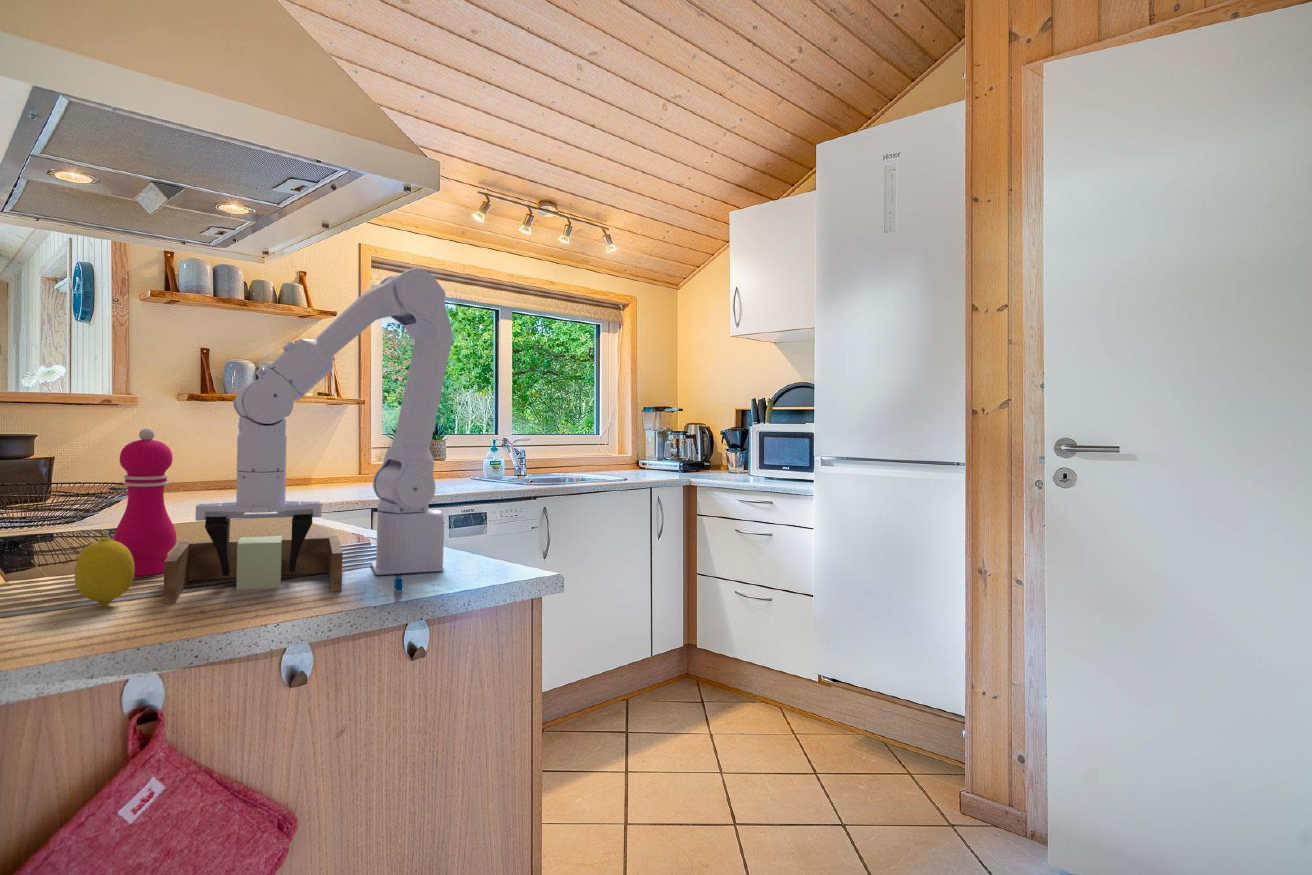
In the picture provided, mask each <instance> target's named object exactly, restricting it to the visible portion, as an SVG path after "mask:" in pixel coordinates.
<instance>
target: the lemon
mask: <svg viewBox="0 0 1312 875" xmlns="http://www.w3.org/2000/svg"><path fill="white" fill-rule="evenodd" d="M134 572H135V566H134V560H133V557H132V554H131V552H130V550H129V549H128V548H127V547H126V546H125V545H123V544H122V543H120V542H117V541H113V539H111V538H110V537H108V536H107V537H101V538H100V539H99V540H98V541H95V542H93V543H91V544H89V545H87V546H86V547H85V548H84V549H83V550H82V551H81V553H80V554H79V555H78V557H77V560H76V564H75V569H74V582H75V586H76V588H77V590H78V592H79V593H80V594H81V595H82V596H83V597H85V598H86V599H88V600H90V601H93V602H94V601H95V602H96V603H98V604H99V605H100V606H103V607H105V606H108V605H109V604H111V603H112V602H113V601H114V600H115V599H117V598H119V597H121V596H123V595H124V594H125V593H126V592H127V591H128V590H129V588H130V586H131V585H132V583H133V581H134Z"/></svg>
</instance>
